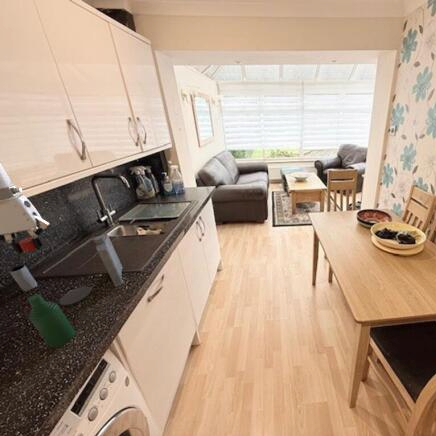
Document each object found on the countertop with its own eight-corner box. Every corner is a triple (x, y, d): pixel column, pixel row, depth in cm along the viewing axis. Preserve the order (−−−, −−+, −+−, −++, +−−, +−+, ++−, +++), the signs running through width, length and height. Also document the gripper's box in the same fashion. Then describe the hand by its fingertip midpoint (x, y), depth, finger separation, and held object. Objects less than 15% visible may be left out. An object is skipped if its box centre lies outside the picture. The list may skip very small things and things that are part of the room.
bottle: (43, 347, 74) (11, 305, 66) (63, 329, 79) (36, 289, 72) (62, 348, 73) (31, 306, 65) (80, 330, 79) (54, 289, 71)
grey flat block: (123, 284, 99) (104, 243, 90) (112, 288, 97) (91, 247, 88) (122, 266, 111) (105, 228, 102) (112, 269, 109) (93, 231, 100)
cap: (32, 245, 76) (27, 236, 75) (44, 244, 76) (39, 236, 75) (19, 252, 73) (13, 243, 72) (31, 251, 73) (25, 243, 71)
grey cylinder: (28, 285, 102) (15, 265, 98) (40, 283, 103) (27, 264, 98) (20, 292, 98) (5, 272, 94) (32, 290, 99) (18, 270, 94)
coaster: (53, 305, 90) (52, 304, 90) (76, 287, 99) (76, 286, 99) (76, 306, 89) (75, 305, 89) (98, 287, 98) (97, 286, 98)
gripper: (42, 186, 73) (69, 237, 81) (-33, 196, 67) (5, 250, 75) (28, 193, 66) (60, 248, 74) (-55, 205, 61) (-11, 263, 69)
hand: (32, 249), depth 75 cm, fingers closed on cap, 3 cm apart
